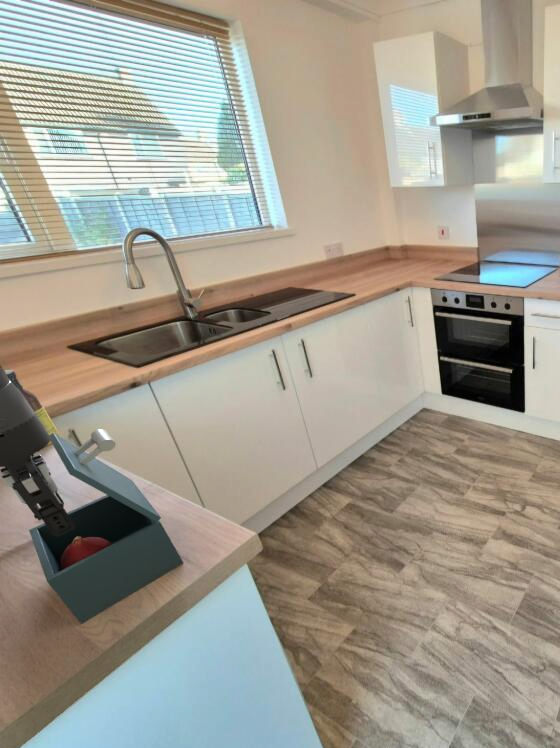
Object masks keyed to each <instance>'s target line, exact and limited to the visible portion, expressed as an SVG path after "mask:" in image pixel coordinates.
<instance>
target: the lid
mask: <svg viewBox="0 0 560 748" xmlns="http://www.w3.org/2000/svg"><path fill="white" fill-rule="evenodd" d="M50 441H51V442H52V446H53V448H54V450H55V451H56V453H57V454H58V457H59V459H60V460H61V462H62V463H63V465H64V467H65V469H66V470H67V473H68V474H69V475H70V476H72V477H73V478H75V479H77V480H79V481H81V482H83V483H85V484H86V485H88V486H90V487H92V488H94V489H96V490H97V491H99V492H101V493H103V494H104V495H105V496H106V495H108V496H110V497H112V498H114V499H116V500H117V501H119V502H121V503H123V504H125V505H126V506H128V507H130V508H132V509H134V510H135V511H137V512H139V513H141V514H143V515H145V516H146V517H148V518H150V519H152V520H154V521H155V522H157V521H160V520H161V519H162V517H161V516H160V513H158V511H157V510H156V509H155V508H154V506H153V505H152V504H151V502H150V501H149V500H148V499H147V497H146V496H145V495H144V493H143V492H142V490H140V488H139V487H138V486H137V484H136V483H135V482H134V480H132V479H131V478H129V477H127V476H126V475H125V474H123V473H121V472H120V471H118V470H116V469H114V468H113V467H111V466H109V465H108V464H107V463H105V462H103V461H101V460H100V459H98V458H96V457H97V456H99V455H100V454H101V453H103V452H109V451H112V450H114V449H115V448H116V444H117V443H116V441H115V440H114V439H113V437H111V435H110V434H109V433H108V432H107V430H106V429H102V428H99V429H95V430H93V431H92V432H91V434H90V438H89V439H88V440H87V441H85V442H84V443H83V444H81V445H80V446H76V445H75V444H73V443H72V442H70V441H68V440H67V439H65V438H63V437H62V436H61V437H60V436H58V435H57V434H55V433H53V434H51V435H50ZM94 445H96V446H97V447H96V448H94V449H93V450H92V451H90V452H89V453H88V452H86V451H87V450H89V449H90V448H91V447H92V446H94Z"/></svg>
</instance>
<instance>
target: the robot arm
mask: <svg viewBox="0 0 560 748" xmlns="http://www.w3.org/2000/svg"><path fill="white" fill-rule="evenodd" d="M49 442H50V436H49V434H48V433H47V431H46V429H45V428H44V426H43V425H42V423H41V422H40V420H39V419H38V417H37V416H36V414H35V412H34V411H33V409H32V408H31V406H30V405H29V403H28V402H27V400H26V399H25V397H24V396H23V394H22V393H21V392H20V391H19V390H18V389H17V388H16V387H15V385H14V384H13V383H12V382H11V380H10V379H9V377H8V376H7V374H6V373H5V371H4V368H3V366H2V364H0V473H1V478H2V480H3V481H4V482H5V484H6V486H8V487H10V488H12V490H13V491H14V493H15V494H16V496H17V498H18V499H19V501H20V502H21V503H22V504H25V505H26V506H27V507H28V508H29V509H30V511H31V513H33V517H34V519H35V520H37V521H41V520H42V521H43V523H45V524H46V525H47V527H48V528H49V530H50V531H51V532H52V534H53V535H54V536H61V535H63V534H65V533H67V532H69V531H71V530H73V529H74V528H75V524H74V522H73V521H72V519H71V518H70V517H69V515H68V514H67V513H68V511H66V509H65V508H64V507H65V502H64V500H63V499H62V497H61V496H60V494H59V493H58V491H59V487H58V486H57V484H56V482H55V481H54V479H53V478H52V476H51V475H52V473H51V471H50V468H49V467H48V465H47V462H46V461H45V459H44V457H43V456H42V454H41V453H39V452H40V451H42V450H44V448H46V447H48V446H47V444H48V443H49ZM45 446H46V447H45ZM36 453H39V454H37V455H35V454H36Z"/></svg>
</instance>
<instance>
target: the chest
mask: <svg viewBox="0 0 560 748" xmlns="http://www.w3.org/2000/svg"><path fill="white" fill-rule="evenodd" d="M67 514H68V515H69V517H70V518H71V519H72V521H73V522H74V524H75V528H74V529H73V530H71V531H69V532H67V533H65V534H63V535H61V536H54V535H53V534H52V532H51V531H50V530H49V528H48V527H47V525H46V524H45V523H44V522H43V523H41V524H39V525H37V526H35V527H33V528H30V529H29V530H28V531H29V533H30V536H31V537H30V538H31V540H32V542H33V545H34V548H35V551H36V554H37V557H38V560H39V563H40V566H41V568H42V571H43V574H44V577H45V580H46V582H47V584H48V585H49V586H50V587H51V589H52V590H53V591H54V592H55V593H56V595H57V596H58V598H59V599H60V600H61V601H62V602H63V604H64V605H65V606H66V607H67V609H68V610H69V611H70V612H71V614H72V615H73V616H74V618H76V620H77V621H78V623H80V625H82V624H84V623H86V622H88V621H89V620H90V619H92V618H94V617H96V616H97V615H99V614H101V613H102V612H104V611H106V610H108V609H109V608H111V607H112V606H114V605H116V604H117V603H119V602H121V601H123V600H124V599H126V598H128V597H129V596H131V595H132V594H133V595H134V593H136V592H138V591H139V590H141V589H143V588H144V587H146V586H148V585H149V584H151V583H152V582H154V581H156V580H158V579H159V578H161V577H163V576H164V575H166V574H168V573H169V572H171V571H173V570H174V569H176V568H178V567H179V566H181V565H183V564H184V561H183V559H182V557H181V555H180V554H179V552H178V550H177V549H176V547H175V545H174V544H173V542H172V539H171V538H170V536H169V534H168V533H167V531H166V530H165V528H164V526H163V524H162V523H161V521H160V520H159V521H157V522H155V521H154V520H152V519H150V518H148V517H146V516H145V515H143V514H141V513H139V512H137V511H135V510H134V509H132V508H130V507H128V506H126V505H125V504H123V503H121V502H119V501H117V500H116V499H114V498H112V497H110V496H108V495H106V494H105V495H103V496H101V497H99V498H97V499H95V500H92V501H90V502H88V503H86V504H83V505H81V506H79V507H77V508H75V509H73V510H71V511H67ZM77 536H78V537H79V536H80V537H82V538H86V537H99V538H103V539H105V540H107V541H109V542H110V543H111V544H112V545H110V546H108V547H106V548H104V549H102V550H101V551H99V552H97V553H95V554H93V555H91V556H89V557H87V558H85V559H83V560H81V561H79V562H77V563H75V564H73V565H71V566H70V567H68V568H66V569H64V570H62V569H61V557H62V555H63V553H64V551H65V550H66V548H67V547H68V546H69V545H70V544H71V543H72V542H73V540H74V539H75V538H76V537H77Z"/></svg>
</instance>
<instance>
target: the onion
mask: <svg viewBox="0 0 560 748" xmlns="http://www.w3.org/2000/svg"><path fill="white" fill-rule="evenodd" d="M110 545H112V544H111V543H110V542H109V541H107V540H105V539H103V538H99V537H86V538H82V537H80V536H79V537H78V536H77V537H76V538H75V539H74V540H73V542H72V543H71V544H70V545H69V546H68V547H67V548H66V550H65V551H64V553H63V555H62V557H61V569H62V570H64V569H66V568H68V567H70V566H71V565H73V564H75V563H77V562H79V561H81V560H83V559H85V558H87V557H89V556H91V555H93V554H95V553H97V552H99V551H101V550H102V549H104V548H106V547H108V546H110Z"/></svg>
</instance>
